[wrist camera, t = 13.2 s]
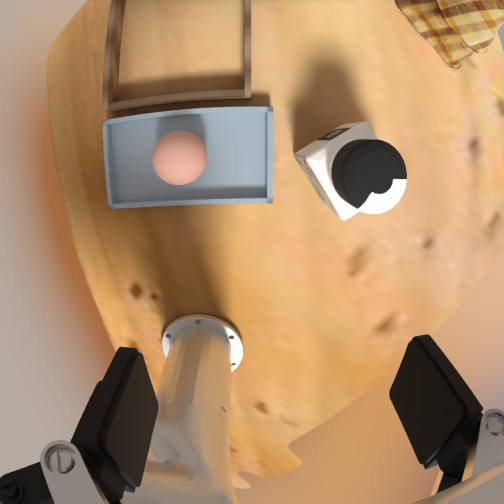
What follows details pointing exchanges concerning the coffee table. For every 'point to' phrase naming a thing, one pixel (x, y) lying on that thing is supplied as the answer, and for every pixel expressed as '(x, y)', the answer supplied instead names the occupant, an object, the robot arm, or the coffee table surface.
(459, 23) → the plaid cloth bag
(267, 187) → the tray
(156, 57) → the coffee table surface
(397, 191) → the container
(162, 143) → the ball
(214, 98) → the wooden box frame
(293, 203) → the coffee table surface
